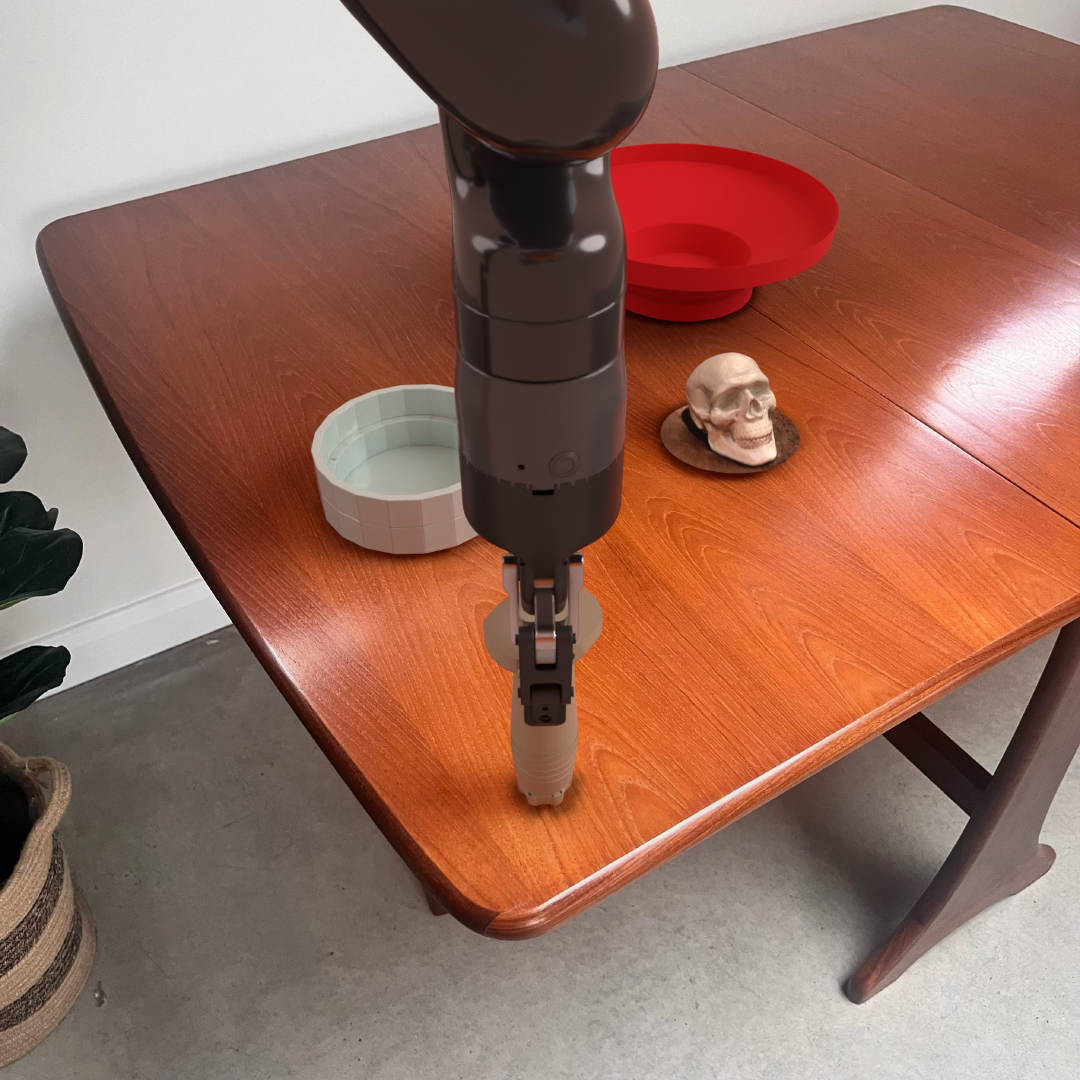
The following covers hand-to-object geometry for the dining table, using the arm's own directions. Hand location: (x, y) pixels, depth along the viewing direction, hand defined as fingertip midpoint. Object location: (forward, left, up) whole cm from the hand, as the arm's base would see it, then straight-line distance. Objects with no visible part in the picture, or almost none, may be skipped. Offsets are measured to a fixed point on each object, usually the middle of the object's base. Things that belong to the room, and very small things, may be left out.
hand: (543, 676), depth 58 cm
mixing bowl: (-10, +29, -11) cm, 33 cm away
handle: (0, 0, -11) cm, 11 cm away
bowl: (+16, +64, -11) cm, 67 cm away
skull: (+17, +36, -11) cm, 41 cm away
